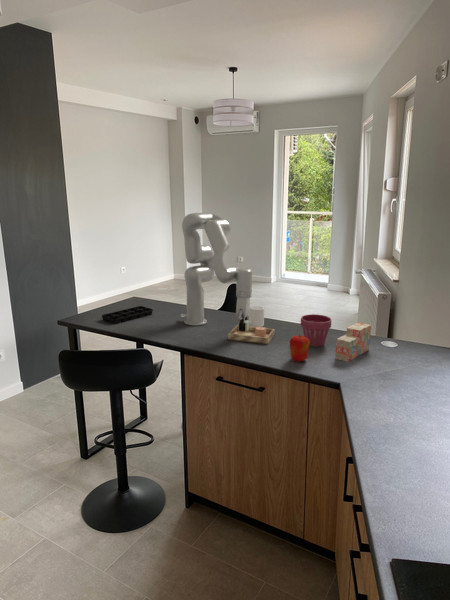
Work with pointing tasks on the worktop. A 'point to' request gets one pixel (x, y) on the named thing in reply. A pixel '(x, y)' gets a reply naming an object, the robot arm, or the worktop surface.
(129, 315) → the egg carton
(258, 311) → the cup
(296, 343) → the apple
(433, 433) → the worktop surface
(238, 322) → the sage block
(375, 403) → the worktop surface
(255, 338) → the oak tray
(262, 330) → the terracotta block
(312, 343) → the plant pot
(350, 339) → the stack of blocks
